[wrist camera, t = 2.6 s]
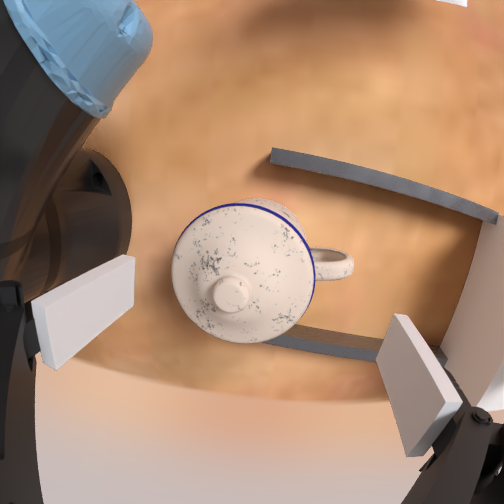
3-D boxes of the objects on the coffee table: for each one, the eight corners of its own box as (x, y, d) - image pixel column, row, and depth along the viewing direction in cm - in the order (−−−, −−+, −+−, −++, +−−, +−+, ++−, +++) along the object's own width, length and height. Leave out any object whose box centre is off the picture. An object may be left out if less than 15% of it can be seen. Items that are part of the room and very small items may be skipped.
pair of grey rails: (242, 324, 28) (238, 336, 26) (274, 150, 24) (272, 147, 22) (435, 355, 26) (443, 368, 24) (485, 209, 22) (498, 212, 20)
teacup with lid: (211, 292, 28) (162, 361, 17) (205, 196, 26) (140, 212, 15) (339, 295, 26) (362, 371, 15) (343, 194, 24) (381, 209, 13)
